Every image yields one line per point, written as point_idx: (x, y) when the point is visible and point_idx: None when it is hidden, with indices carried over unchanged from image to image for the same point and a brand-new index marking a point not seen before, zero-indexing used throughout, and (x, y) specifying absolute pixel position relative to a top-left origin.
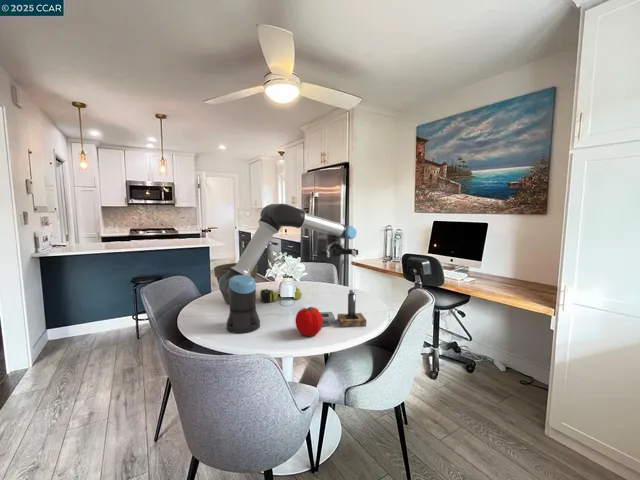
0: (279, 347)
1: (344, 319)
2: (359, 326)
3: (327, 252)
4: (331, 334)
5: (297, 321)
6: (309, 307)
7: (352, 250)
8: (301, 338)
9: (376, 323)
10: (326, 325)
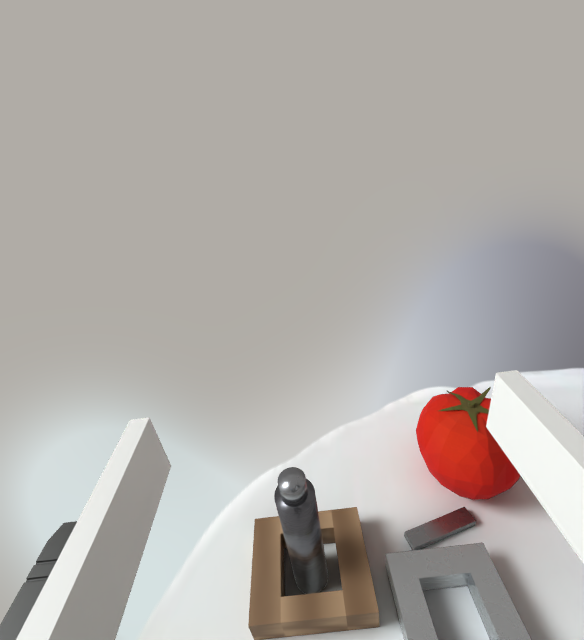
0: None
1: (342, 525)
2: None
3: (552, 419)
4: (386, 464)
5: None
6: (483, 431)
7: (76, 574)
8: None
9: (207, 568)
10: (417, 528)
